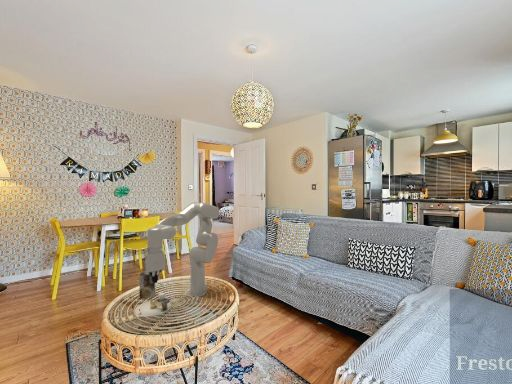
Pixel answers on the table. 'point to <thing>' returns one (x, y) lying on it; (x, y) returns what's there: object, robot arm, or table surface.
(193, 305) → the table surface
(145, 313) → the dial plate
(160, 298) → the lock button
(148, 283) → the coffee box
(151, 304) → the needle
